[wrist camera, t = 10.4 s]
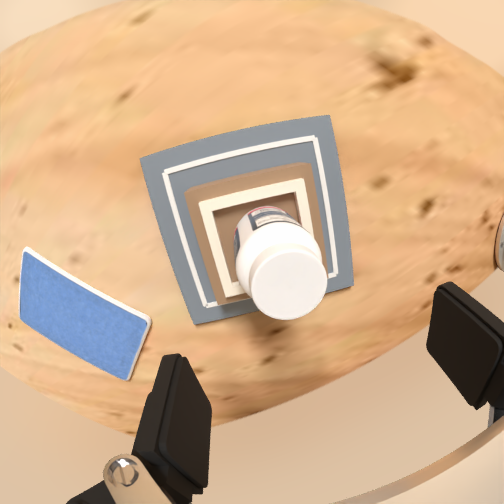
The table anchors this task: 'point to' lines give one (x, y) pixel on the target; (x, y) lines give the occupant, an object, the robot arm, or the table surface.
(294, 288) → the pill bottle
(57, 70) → the table surface
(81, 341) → the blue rectangular panel
